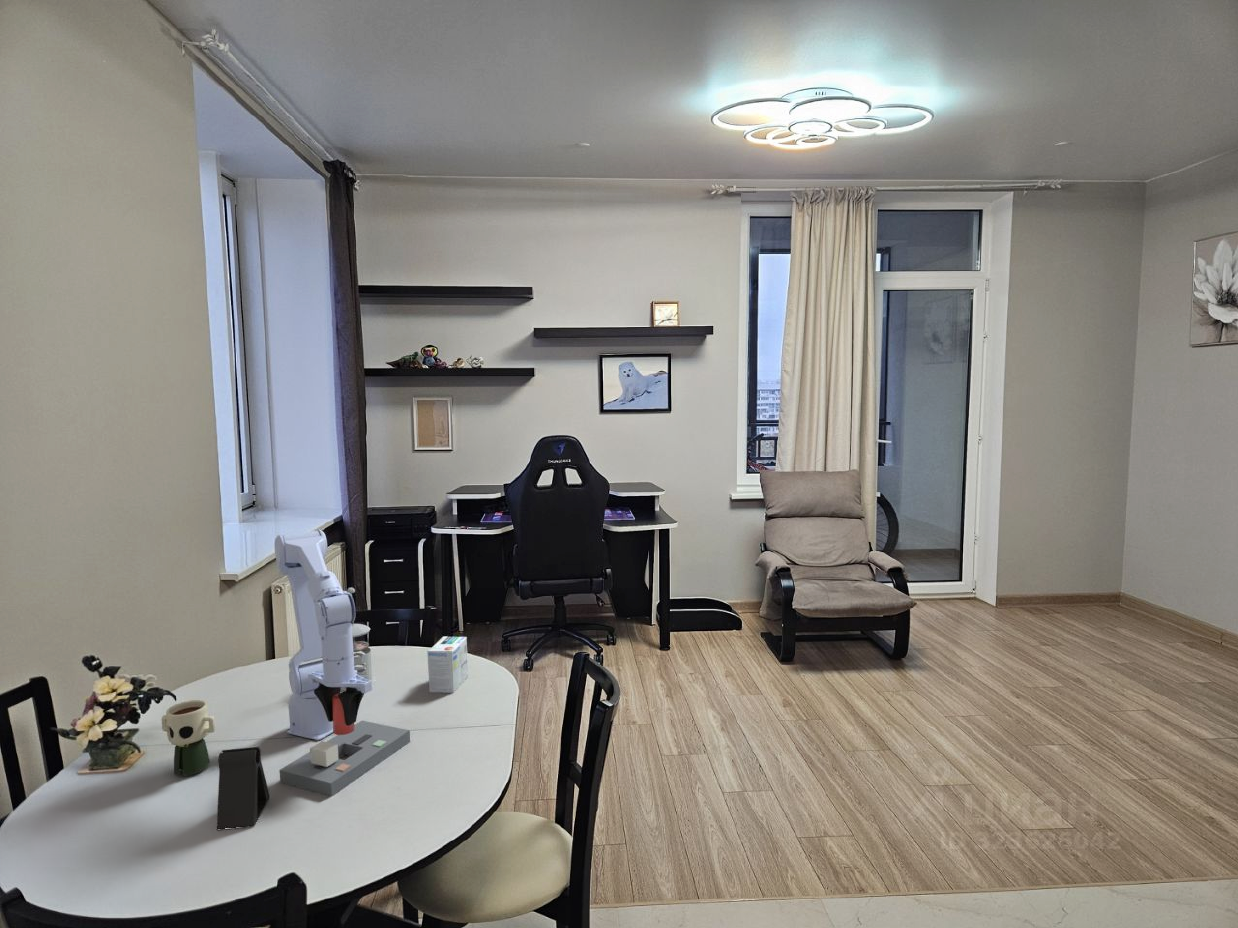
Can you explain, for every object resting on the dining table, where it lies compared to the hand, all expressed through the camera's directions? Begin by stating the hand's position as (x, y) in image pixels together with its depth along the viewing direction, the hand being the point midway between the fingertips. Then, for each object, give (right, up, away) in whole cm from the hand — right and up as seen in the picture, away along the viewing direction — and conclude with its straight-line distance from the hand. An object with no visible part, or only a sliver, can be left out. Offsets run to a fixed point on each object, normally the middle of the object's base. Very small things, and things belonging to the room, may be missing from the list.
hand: (342, 721), depth 143 cm
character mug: (-30, -10, 0) cm, 31 cm away
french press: (-13, -5, +41) cm, 43 cm away
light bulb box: (+12, -5, +39) cm, 41 cm away
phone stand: (-11, -11, -16) cm, 22 cm away
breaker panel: (+1, -9, +2) cm, 9 cm away
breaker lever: (-2, -6, -4) cm, 8 cm away
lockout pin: (0, -2, 0) cm, 2 cm away
